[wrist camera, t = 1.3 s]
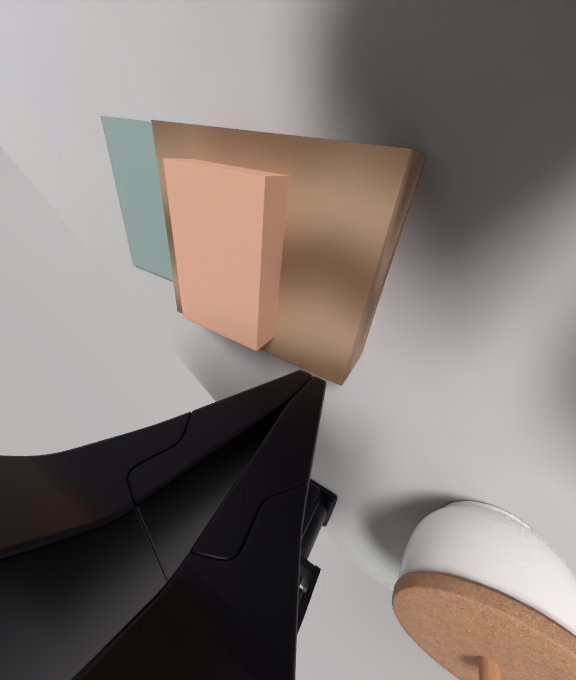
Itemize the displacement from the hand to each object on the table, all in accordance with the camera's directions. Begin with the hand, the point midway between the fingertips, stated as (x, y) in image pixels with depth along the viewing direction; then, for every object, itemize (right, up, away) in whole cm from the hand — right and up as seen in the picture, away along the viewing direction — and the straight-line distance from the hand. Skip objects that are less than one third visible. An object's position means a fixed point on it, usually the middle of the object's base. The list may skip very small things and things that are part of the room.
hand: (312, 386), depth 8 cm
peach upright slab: (-4, +6, +8) cm, 11 cm away
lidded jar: (+15, -13, +14) cm, 24 cm away
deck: (-1, +8, +11) cm, 13 cm away
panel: (-12, +12, +15) cm, 23 cm away
